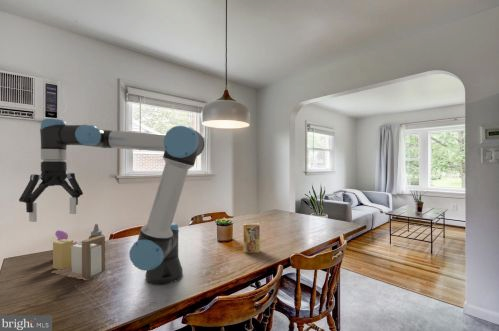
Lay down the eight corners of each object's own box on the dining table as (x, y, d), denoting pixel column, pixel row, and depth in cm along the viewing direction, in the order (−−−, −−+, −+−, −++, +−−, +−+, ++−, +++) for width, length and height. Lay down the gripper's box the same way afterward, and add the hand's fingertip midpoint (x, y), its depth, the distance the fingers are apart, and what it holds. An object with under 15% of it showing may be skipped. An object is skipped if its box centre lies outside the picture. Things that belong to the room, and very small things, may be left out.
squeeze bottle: (103, 255, 128) (103, 221, 128) (107, 259, 122) (107, 224, 122) (85, 259, 122) (85, 224, 122) (88, 264, 117) (88, 227, 116)
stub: (73, 265, 114) (73, 239, 114) (61, 269, 109) (61, 243, 109) (64, 263, 116) (64, 238, 116) (53, 267, 111) (52, 241, 111)
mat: (111, 269, 110) (111, 269, 110) (86, 282, 99) (86, 281, 99) (75, 262, 118) (75, 261, 118) (47, 273, 107) (47, 272, 107)
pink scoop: (79, 255, 127) (79, 227, 127) (62, 262, 119) (62, 231, 119) (68, 253, 130) (68, 226, 130) (50, 259, 122) (50, 230, 121)
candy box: (259, 250, 136) (259, 223, 136) (259, 252, 131) (259, 225, 131) (243, 250, 135) (243, 223, 135) (243, 253, 131) (243, 225, 131)
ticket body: (105, 270, 109) (104, 236, 109) (86, 278, 101) (86, 241, 101) (86, 266, 113) (86, 233, 113) (67, 274, 105) (67, 238, 105)
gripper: (80, 161, 103) (80, 210, 103) (4, 160, 79) (5, 224, 80) (92, 161, 100) (93, 211, 101) (19, 160, 77) (19, 226, 77)
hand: (54, 217), depth 90 cm, fingers open, 13 cm apart
